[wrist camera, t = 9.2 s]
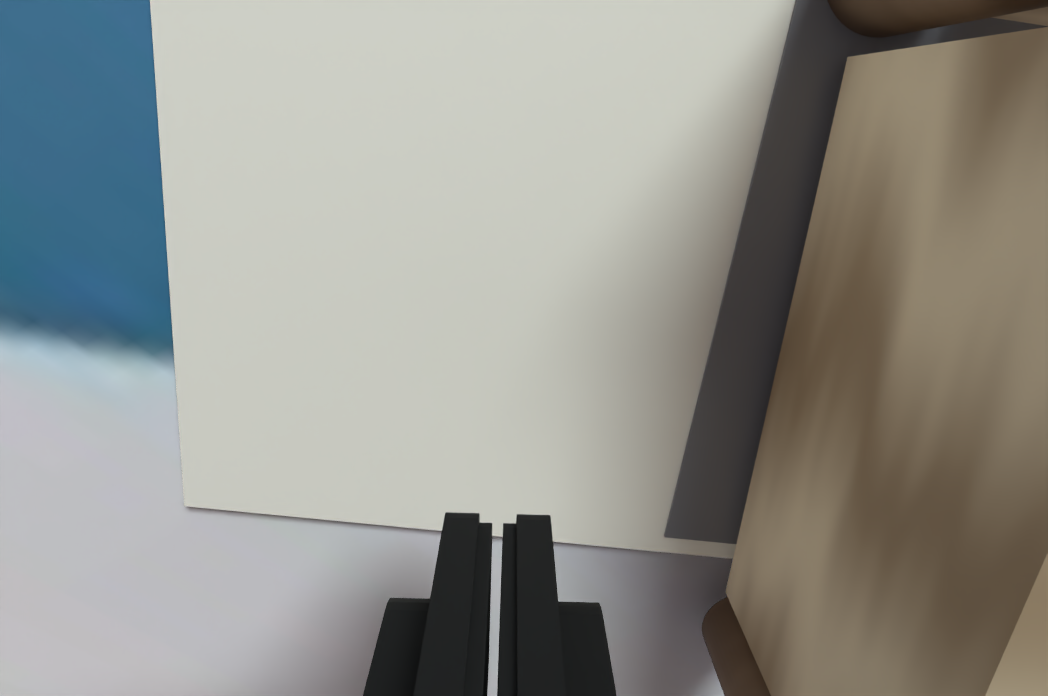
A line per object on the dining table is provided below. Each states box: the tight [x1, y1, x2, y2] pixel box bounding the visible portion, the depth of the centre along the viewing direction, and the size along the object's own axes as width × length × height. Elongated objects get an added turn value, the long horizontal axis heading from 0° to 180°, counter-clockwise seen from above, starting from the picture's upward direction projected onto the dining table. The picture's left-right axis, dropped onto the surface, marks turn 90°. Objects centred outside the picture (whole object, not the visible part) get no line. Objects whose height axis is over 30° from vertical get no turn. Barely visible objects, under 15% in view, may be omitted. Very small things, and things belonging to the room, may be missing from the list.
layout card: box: [150, 0, 1048, 559], centre depth 13 cm, size 28×18×1 cm, turn 83°
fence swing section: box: [702, 27, 1048, 696], centre depth 11 cm, size 14×2×7 cm, turn 176°
